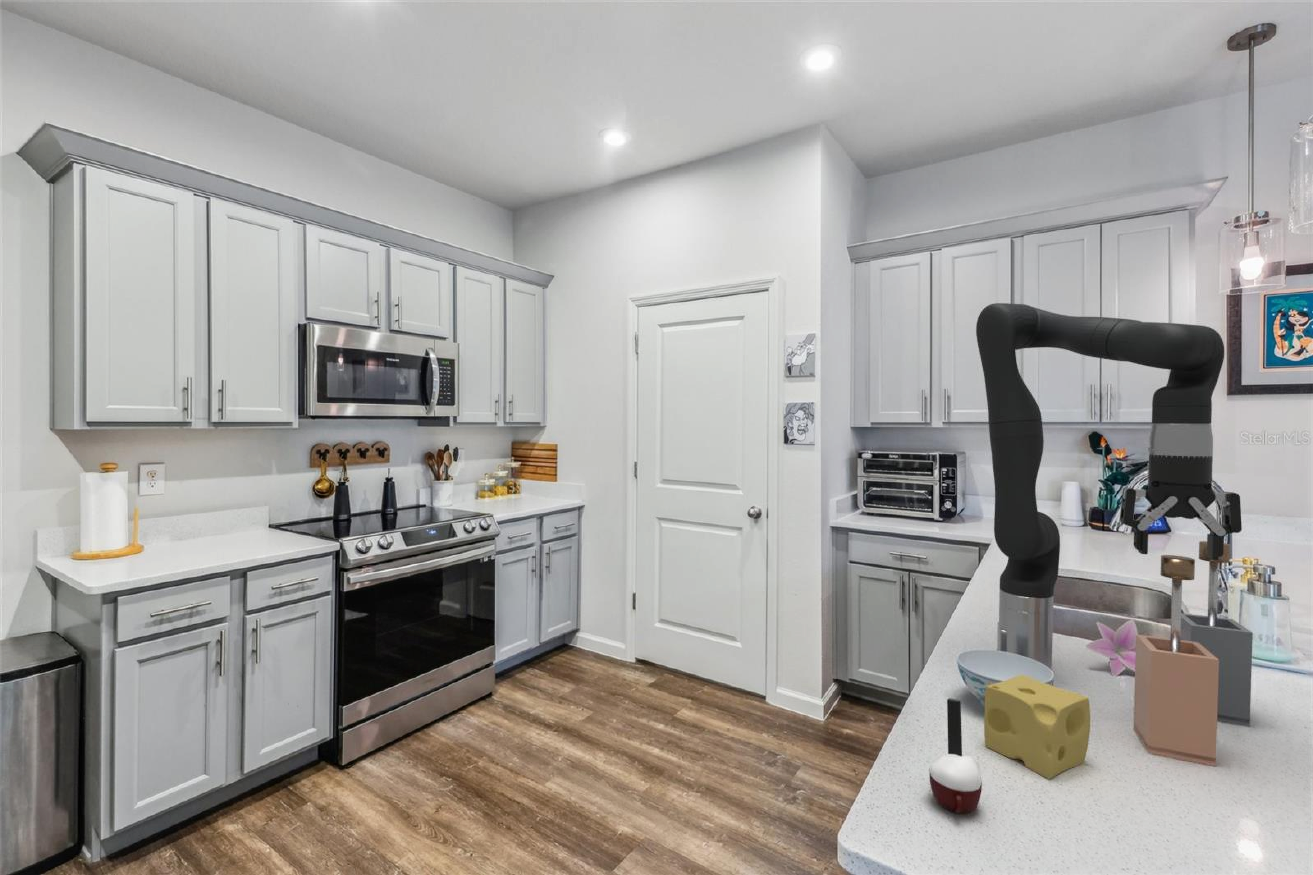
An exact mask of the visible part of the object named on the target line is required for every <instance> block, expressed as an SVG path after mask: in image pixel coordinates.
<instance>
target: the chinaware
mask: <svg viewBox="0 0 1313 875" xmlns="http://www.w3.org/2000/svg"><path fill="white" fill-rule="evenodd" d="M956 663H957V668H958V671H959V673H960V676H961V679H962V681H963V683H964V685H965V686H966V688H967V689H968V690H969V691H970V693H971V694H973V695H974V696H975V697H976V698H977V699H978V700H979V701H981V702H980V703H981V706H982V705H983V706H982V707H983V708H984V709H985V691H986V686H988V685H991V684H995V683H999V682H1002V681H1005V680H1008V679H1010V678H1013V677H1016V676H1019V675H1025V676H1028V677H1030V678H1033V679H1035V680H1038V681H1040V682H1043V683H1046V684H1049V685H1051V686H1053V682H1054V678H1055V674H1054V672H1053V670H1051V669H1049V668H1048V667H1047V666H1045V665H1044V664H1042V663H1040V662H1038V661H1035V660H1033V659H1030V658H1027V657H1024V656H1021V655H1017V654H1013V653H1008V652H1003V651H997V649H996V650H995V649H981V648H980V649H969V650H965V651H961V652H960V653H958V654H957V656H956Z"/></svg>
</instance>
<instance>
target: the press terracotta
mask: <svg viewBox="0 0 1313 875" xmlns="http://www.w3.org/2000/svg"><path fill="white" fill-rule="evenodd" d="M1218 674H1219V660H1218V659H1217V658H1216V657H1215V656H1214V655H1213V654H1211V653H1210V652H1209V651H1208V650H1207V649H1206V648H1204V647H1203V646H1202V645H1201V644H1200V643H1199V642H1192V641H1184V640H1180V653H1178V652H1171V651H1170V638H1167V637H1159V636H1151V635H1144V634H1138V635H1137V634H1136V655H1135V671H1134V694H1133V696H1134V697H1133V698H1134V699H1133V702H1134V703H1133V731H1134V733H1135V735H1136V736H1137V738H1138V739H1139V740H1140V742H1141V744H1142V746H1143V747H1144V749H1145V750H1146V752H1147V754H1151V755H1156V756H1161V757H1166V758H1171V759H1176V760H1182V761H1186V762H1190V763H1191V762H1192V763H1197V764H1201V765H1206V766H1213V767H1217V761H1216V760H1217V759H1216V758H1217V736H1218V735H1217V733H1218V732H1217V730H1218V721H1217V707H1218Z"/></svg>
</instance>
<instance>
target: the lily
mask: <svg viewBox="0 0 1313 875" xmlns="http://www.w3.org/2000/svg"><path fill="white" fill-rule="evenodd" d="M1096 626H1097V628H1098V631H1099V633H1100V635H1101V637H1102V638H1099V639H1096V640H1094V641H1091V642H1089V643H1088V644H1086V645H1085V647H1086V649H1087V650H1090V651H1092V652H1094V653H1097V654H1099V655H1102V656H1104V657H1106V658H1108V659H1109V661H1108V664H1109V668H1110V672H1111V676H1112V677H1117V676H1118V675H1120V674H1121V673H1122V672H1123V671H1124V670H1125V669H1126V668H1128V669H1129V670H1131V671H1133V672H1135V655H1136V634H1137V635H1139V633H1138V628H1137V624H1136V623H1135V621H1134V620H1133V619H1129V620H1127V621H1126V622H1124V623H1123V624H1122V625H1121V626H1120V627H1119V628H1118V629H1116V631H1115V630H1114V629H1112V628H1110V627H1109V626H1108V625H1106V624H1104V623H1101V622H1099V621H1096Z"/></svg>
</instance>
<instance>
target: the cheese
mask: <svg viewBox="0 0 1313 875" xmlns="http://www.w3.org/2000/svg"><path fill="white" fill-rule="evenodd" d="M1090 709H1091V708H1090V698H1089V696H1086V695H1084V694H1081V693H1080V694H1079V693H1077V692H1074V691H1070V690H1066V689H1063V688H1060V687H1057V686H1054V685H1052V686H1051V685H1049V684H1046V683H1043V682H1040V681H1038V680H1035V679H1033V678H1030V677H1028V676H1025V675H1019V676H1016V677H1013V678H1010V679H1008V680H1005V681H1002V682H999V683H995V684H991V685H988V686H986V691H985V708H984V715H983V716H984V720H983V726H984V728H983V729H984V730H983V731H984V745H985V747H986V748H988V749H990V750H992V751H994V752H996V753H999V754H1000V755H1002V756H1004V757H1007V758H1009V759H1012V760H1018V761H1023V763H1024V765H1025V768H1027V769H1029V770H1031V771H1033V772H1035V773H1036V774H1039V775H1040V776H1042V777H1044V779H1048V780H1051V779H1053V778H1054V777H1056V776H1057V775H1059V774H1061V773H1062V772H1064V771H1065V772H1066V771H1067V770H1068V769H1069V770H1070V769H1071V768H1073V767H1077V766H1078V765H1081V764H1084V763H1085V761H1086V756H1087V752H1088V748H1089V740H1090V734H1091V733H1090V732H1091V731H1090V730H1091V710H1090Z"/></svg>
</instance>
